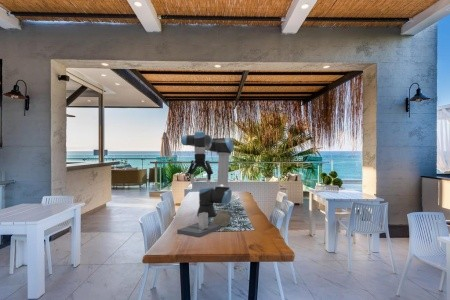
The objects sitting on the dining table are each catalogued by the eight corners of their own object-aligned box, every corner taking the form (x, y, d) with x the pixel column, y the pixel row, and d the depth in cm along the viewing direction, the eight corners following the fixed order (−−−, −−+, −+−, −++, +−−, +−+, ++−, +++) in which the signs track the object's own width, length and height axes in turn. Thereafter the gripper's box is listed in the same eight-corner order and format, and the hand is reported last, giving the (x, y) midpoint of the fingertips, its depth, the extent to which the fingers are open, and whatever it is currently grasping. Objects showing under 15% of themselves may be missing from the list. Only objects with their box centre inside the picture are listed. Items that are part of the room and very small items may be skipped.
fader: (198, 228, 216) (198, 213, 215) (203, 227, 220) (203, 212, 220) (203, 229, 214) (203, 214, 214) (208, 227, 218) (208, 212, 218)
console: (177, 233, 216) (177, 225, 216) (199, 226, 236) (199, 219, 236) (199, 237, 206) (199, 229, 206) (220, 229, 227) (220, 221, 227)
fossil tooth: (211, 227, 238) (231, 224, 240) (211, 228, 232) (232, 226, 234) (209, 211, 238) (229, 208, 240) (210, 212, 232) (231, 209, 234)
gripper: (182, 153, 233) (182, 183, 233) (211, 153, 219) (212, 185, 219) (189, 153, 239) (189, 182, 239) (217, 153, 226) (218, 184, 226)
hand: (200, 184), depth 229 cm, fingers open, 13 cm apart
